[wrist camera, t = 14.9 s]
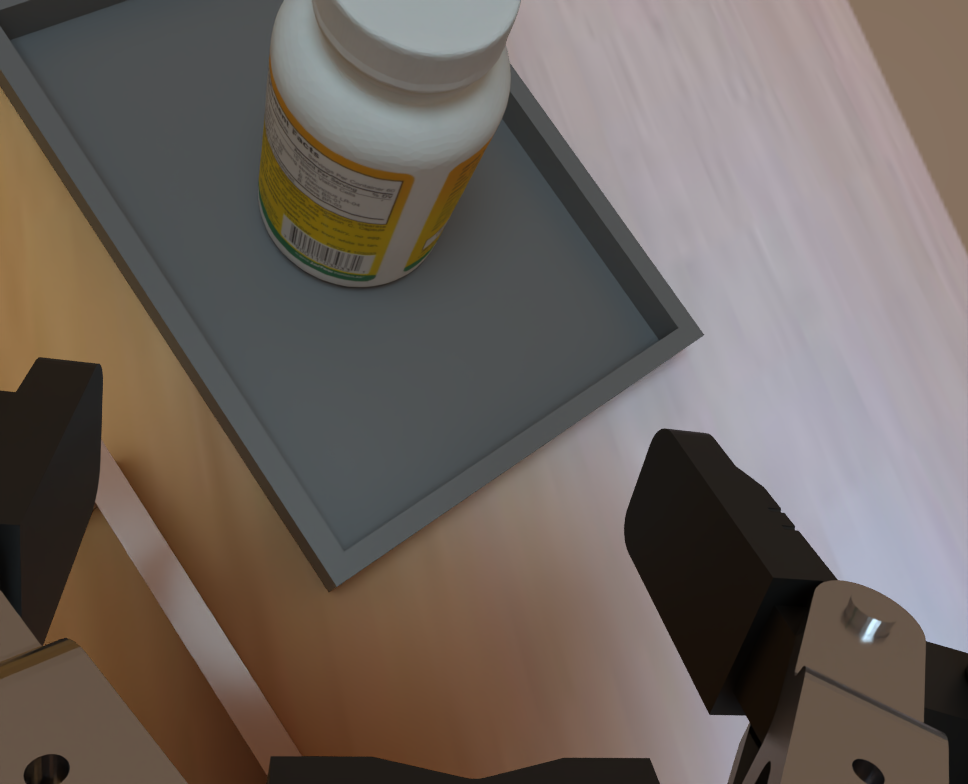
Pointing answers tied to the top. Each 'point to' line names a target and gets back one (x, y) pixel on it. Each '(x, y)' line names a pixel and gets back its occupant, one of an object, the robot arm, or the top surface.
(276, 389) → the tray
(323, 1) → the supplement bottle
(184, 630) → the frame
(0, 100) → the top surface
